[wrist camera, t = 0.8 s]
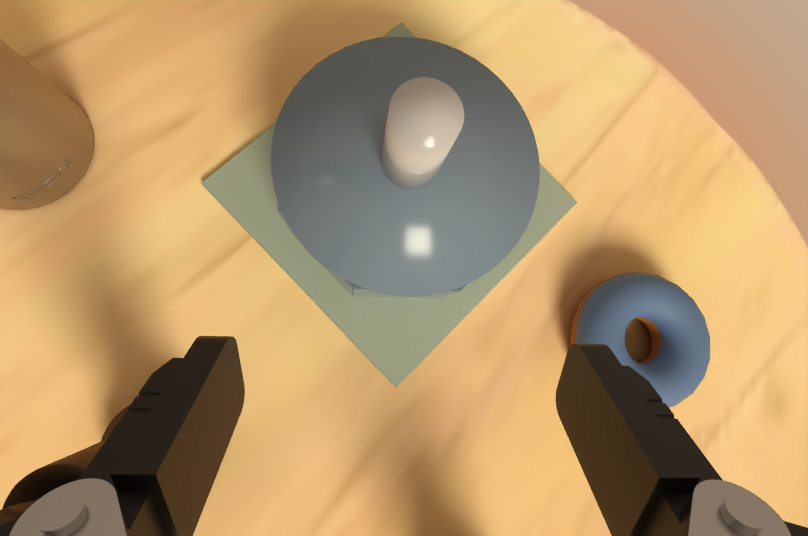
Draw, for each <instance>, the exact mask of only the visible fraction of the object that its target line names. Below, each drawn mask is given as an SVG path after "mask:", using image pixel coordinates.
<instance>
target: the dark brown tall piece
mask: <svg viewBox="0 0 808 536" xmlns="http://www.w3.org/2000/svg"><path fill="white" fill-rule="evenodd" d="M129 406H130V405H129ZM129 406H128V407H126V408H125V409H123V410H122V411H121V412H120V413H119V414H118V415H117V416H116V417H115V418H114V419H113V420H112V421H111V423H110V424H109V426H108V427H107V429H106V431H105V433H104V435H103V437H102V440H101V442H99V443H97V444H95V445H92V446H90V447H88V448H86V449H84V450H81V451H79V452H77V453H74V454H72V455H70V456H67V457H65V458H63V459H60V460H58V461H55V462H53V463H51V464H48V465H46V466H44V467H42V468H39V469H37V470H35V471H33V472H32V473H30V474H28V475H27V476H26V477H24V478H23V479H22V480H21V481H19V482H18V483H17V484H16V485H15V487H14V488H13V489H12V491H11V492H10V494H9V495H8V497H7V499H6V501H5V503H4V506H3V509H2V510H0V524H4V523H8V522H11V521H14V520H17V519H19V518H20V517H21V515H22V514H23V513H24V512H25V511H26V510H27V509H28V508H29V507H30V506H31V505H32V504H33V503H35V502H36V501H37V500H39V499H40V498H41V497H43V496H44V495H46V494H47V493H49V492H50V491H52V490H54V489H56V488H58V487H60V486H62V485H65V484H67V483H70V482H73V481H76V480H78V479H79V478H80V476H81V475H82V474H83V472H84V471H85V469H86V468H87V467H88V465H89V464H90V462H91V461H92V459H93V458H94V457H95V455H96V454H97V452H98V451H99V449H100V448H101V447H102V445H103V444H104V442H105V441H106V439H107V438H108V437H109V435H110V434H111V432H112V431H113V429H114V428H115V427H116V425H117V424H118V422H119V421H120V419H121V418H122V416H123V415H124V414H125V413H127V412H128V408H129Z"/></svg>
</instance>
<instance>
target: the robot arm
mask: <svg viewBox="0 0 808 536" xmlns="http://www.w3.org/2000/svg"><path fill="white" fill-rule="evenodd" d="M93 149H94V138H93V131H92V128H91V124H90V121H89V119H88V118H87V116H86V114H85V113H84V111H83V109H82V108H81V107H80V106H79V105H78V104H77V103H76V102H75V101H74V100H73V99H72V98H70V97H69V96H68V95H67V94H66V93H64V92H63V91H62V90H61V89H60V88H58V87H57V86H56V85H55V84H54V83H52V82H51V81H50V80H49V79H48V78H46V77H45V76H44V75H43V74H41V73H40V72H39V71H38V70H37V69H36V68H35V67H33V66H32V65H31V64H30V63H29V62H27V61H26V60H25V59H24V58H23V57H21V56H20V55H19V54H18V53H17V52H15V51H14V50H13V49H12V48H10V47H9V46H8V45H7V44H6V43H4V42H3V41H2V40H1V39H0V208H1V209H6V210H25V209H31V208H36V207H40V206H43V205H45V204H48V203H51V202H53V201H55V200H57V199H58V198H60V197H62V196H63V195H65V194H67V193H68V192H69V191H70V190H71V189H72V188H73V187H74V186H75V185H76V184H78V182H79V181H80V180H81V178H82V177H83V175H84V174H85V173H86V171H87V169H88V166H89V164H90V162H91V159H92V154H93ZM244 394H245V388H244V381H243V375H242V370H241V364H240V359H239V353H238V348H237V343H236V340H235V338H234V337H228V336H199V337H198V338H196V340H195V341H194V343H193V344H192V346H191V347H190V349H189V350H188V352H187V354H186V355H185V357H184V358H172V359H171V360H170V361H168V362H167V363H166V364H164V365H163V366H162V367H161V368H159V369H158V370H157V371H155V372H154V373H153V374H152V375H151V376H150V378H149V379H148V381H147V382H146V384H145V385H144V386H143V388H142V389H141V391H140V392H139V396H136V398H135V399H134V401H133V402H132V404H131V405H130V406H129V408H128V412H127V413H125V414H124V415H123V416H122V418H121V419H120V421H119V422H118V424H117V425H116V427H115V428H114V429H113V431H112V432H111V434H110V435H109V437H108V438H107V439H106V441H105V442H104V444H103V445H102V447H101V448H100V449H99V451H98V452H97V454H96V455H95V457H94V458H93V459H92V461H91V462H90V464H89V465H88V467H87V468H86V469H85V471H84V472H83V474H82V475H81V476H80V478H79V479H78V480H76V481H73V482H70V483H67V484H65V485H62V486H60V487H58V488H56V489H54V490H52V491H50V492H49V493H47V494H46V495H44V496H43V497H41V498H40V499H39V500H37V501H36V502H35V503H33V504H32V505H31V506H30V507H29V508H28V509H27V510H26V511H25V512H24V513H23V514H22V515H21V517H20V518H19V519H17V520H14V521H11V522H8V523H4V524H0V536H193V534H194V531H195V528H196V526H197V523H198V521H199V518H200V516H201V513H202V511H203V508H204V506H205V503H206V500H207V498H208V495H209V493H210V490H211V488H212V485H213V483H214V480H215V478H216V475H217V472H218V470H219V467H220V465H221V462H222V460H223V457H224V455H225V452H226V450H227V447H228V444H229V442H230V439H231V437H232V434H233V432H234V429H235V427H236V424H237V422H238V419H239V417H240V414H241V411H242V408H243V403H244ZM662 400H663V399H662V398H661V397H660V395H659V394H658V393H657V391H656V390H655V389H654V387H653V386H652V385H651V383H650V382H649V381H648V380H647V379H645V378H644V377H643V376H641V375H640V374H639V373H638V372H636V371H635V370H634V369H632V368H631V367H630V366H622V365H621V363H620V362H619V360H618V359H617V357H616V356H615V355H614V353H613V352H612V350H611V349H610V348H609V347H608V346H607V345H606V344H582V343H574V344H572V345H571V346H570V347H569V349H568V352H567V356H566V359H565V363H564V366H563V369H562V373H561V376H560V380H559V383H558V387H557V391H556V406H557V411H558V415H559V417H560V420H561V422H562V424H563V426H564V429H565V431H566V433H567V436H568V438H569V440H570V442H571V445H572V447H573V449H574V451H575V454H576V456H577V458H578V460H579V463H580V465H581V467H582V469H583V472H584V474H585V476H586V478H587V481H588V483H589V485H590V488H591V490H592V492H593V494H594V497H595V499H596V501H597V503H598V506H599V508H600V510H601V512H602V515H603V517H604V519H605V521H606V524H607V526H608V528H609V531H610V533H611V535H612V536H808V528H806V527H803V526H799V525H796V524H792V523H789V522H785V521H783V520H782V519H781V518H780V516H779V515H778V514H777V513H776V512H775V511H774V510H773V509H772V508H771V507H770V506H769V505H768V504H767V503H766V502H765V501H763V500H762V499H761V498H759V497H758V496H756V495H755V494H753V493H752V492H750V491H748V490H746V489H745V488H743V487H741V486H738V485H736V484H733V483H730V482H727V481H723V480H722V479H721V477H720V476H719V475H718V473H717V472H716V471H715V469H714V468H713V467H712V465H711V464H710V463H709V461H708V460H707V459H706V457H705V456H704V454H703V453H702V452H701V450H700V449H699V448H698V446H697V445H696V444H695V442H694V441H693V440H692V438H691V437H690V436H689V434H688V433H687V432H686V430H685V429H684V428H683V426H682V425H681V424H680V422H679V421H678V420H677V419H674V414H673V413H672V412H671V410H670V409H669V408H668V406H667V405H666V404H665V403H663V402H662Z"/></svg>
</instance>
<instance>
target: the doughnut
mask: <svg viewBox="0 0 808 536" xmlns="http://www.w3.org/2000/svg"><path fill="white" fill-rule="evenodd" d="M634 319H638V320H640V321H642V322H643V323H644V324H645V325H646V327H647V328H648V330H649V332H650V335H651V339H652V347H651V351H650V354H649V356H648V357H647V359H646V360H645V361H643V362H642V363H638V362H636V361H635V360H633V359H632V358H631V357H630V355H629V353H628V352H627V349H626V345H625V332H626V329H627V326H628V324H629V323H630V322H631V321H632V320H634ZM574 343H582V344H606V345H607V346H608V347H609V348H610V349H611V350H612V352H613V353H614V355H615V356H616V357H617V359H618V360H619V362H620V363H621V365H622V366H630V367H631V368H632V369H634V370H635V371H636V372H638V373H639V374H640V375H641V376H643V377H644V378H645V379H647V380H648V381H649V382H650V383H651V385H652V386H653V387H654V389H655V390H656V391H657V393H658V394H659V395H660V397H661V398H662V399H663V400H662V402H663V403H665V404H666V405H667V406H668V408H669V407H673V406H675V405H677V404H678V403H680V402H681V401H683V400H684V399H685V398H687V397H688V396H690V395H691V394H693V393H694V391H695V390H696V388H697V387H698V385H699V384H700V383H701V381H702V380H703V378H704V376H705V373H706V370H707V366H708V363H709V360H710V336H709V332H708V329H707V325H706V322H705V318H704V316H703V314H702V313H701V311H700V310H699V308H698V306H697V305H696V303H695V301H694V300H693V299H692V298H691V297H690V296H689V295H688V294H687V293H686V292H685V291H683V290H682V289H681V288H680V287H679V286H678V285H676V284H674V283H672V282H670V281H668V280H666V279H664V278H662V277H660V276H657V275H650V274H643V273H629V274H624V275H619V276H615V277H613V278H610V279H608V280H606V281H604V282H603V283H601V284H599V285H598V286H596V287H594V288H593V289H591V290H590V291H589V292H588V294H587V295H586V296H585V297H584V299H583V300H582V301H581V302H580V304H579V305H578V308H577V310H576V313H575V316H574V318H573V321H572V324H571V343H570V344H571V345H572V344H574Z"/></svg>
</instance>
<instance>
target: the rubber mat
mask: <svg viewBox="0 0 808 536" xmlns="http://www.w3.org/2000/svg"><path fill="white" fill-rule="evenodd" d="M385 37H413V38H416V37H415V36H414V35H413V34H412V33H411V32H410V31H409V30H408V29H407V28H406V27H405V26H404V25H403V24H402V23H400V24H399V25H398V26H397V27H395V28H394V29H393V30H392V31H390V32H389V33H388V34H387V35H385V36H384V37H383V38H385ZM275 127H276V124H274V125H273V126H272V127H271V128H269V129H268V130H267V131H266V132H264V133H263V134H262V135H261V136H259V137H258V138H257V139H256V140H254V141H253V142H252V143H251V144H249V145H248V146H247V147H246V148H245V149H243V150H242V151H241V152H240V153H238V154H237V155H236V156H235V157H233V158H232V159H231V160H230V161H228V162H227V163H226V164H225V165H223V166H222V167H221V168H220V169H218V170H217V171H216V172H215V173H213V174H212V175H211V176H210V177H208V178H207V179H206V180H205V181H203V182H202V183H201V184H202V185H203V186H204V187H205V188H206V189H207V190H208V191H209V192H210V193H211V194H212V195H213V196H214V197H215V198H216V199H217V200H218V202H219V203H220V204H221V205H222V206H223V207H224V208H225V209H226V210H227V211H228V212H229V213H230V214H231V215H232V216H233V217H234V218H235V219H236V220H237V221H238V222H239V224H240V225H241V226H242V227H243V228H244V229H245V230H246V231H247V232H248V233H249V234H250V235H251V236H252V237H253V238H254V239H255V240H256V241H257V242H258V243H259V245H260V246H261V247H262V248H263V249H264V250H265V251H266V252H267V253H268V254H269V255H270V256H271V257H272V258H273V259H274V260H275V261H276V262H277V263H278V264H279V265H280V267H281V268H282V269H283V270H284V271H285V272H286V273H287V274H288V275H289V276H290V277H291V278H292V279H293V280H294V281H295V282H296V283H297V284H298V285H299V286H300V287H301V289H302V290H303V291H304V292H305V293H306V294H307V295H308V296H309V297H310V298H311V299H312V300H313V301H314V302H315V303H316V304H317V305H318V306H319V307H320V308H321V310H322V311H323V312H324V313H325V314H326V315H327V316H328V317H329V318H330V319H331V320H332V321H333V322H334V323H335V324H336V325H337V326H338V327H339V328H340V329H341V330H342V332H343V333H344V334H345V335H346V336H347V337H348V338H349V339H350V340H351V341H352V342H353V343H354V344H355V345H356V346H357V347H358V348H359V349H360V350H361V351H362V352H363V354H364V355H365V356H366V357H367V358H368V359H369V360H370V361H371V362H372V363H373V364H374V365H375V366H376V367H377V368H378V369H379V370H380V371H381V372H382V373H383V375H384V376H385V377H386V378H387V379H388V380H389V381H390V382H391V383H392V384H393V385H394V386H395V387H397V386H398V385H399V384H400V383H401V382H402V381H403V380H404V379H405V378H406V377H407V376H408V375H409V374H410V373H411V372H412V371H413V370H414V369H415V368H416V367H417V366H418V365H419V364H420V363H421V362H422V361H423V360H424V359H425V358H426V357H427V356H428V354H429V353H430V352H431V351H432V350H433V349H434V348H435V347H436V346H437V345H438V344H439V343H440V342H441V341H442V340H443V339H444V338H445V337H446V336H447V335H448V334H449V333H450V332H451V331H452V330H453V329H454V328H455V327H456V326H457V325H458V324H459V323H460V322H461V321H462V320H463V319H464V318H465V317H466V316H467V315H468V314H469V313H470V312H471V311H472V309H473V308H474V307H475V306H476V305H477V304H478V303H479V302H480V301H481V300H482V299H483V298H484V297H485V296H486V295H487V294H488V293H489V292H490V291H491V290H492V289H493V288H494V287H495V286H496V285H497V284H498V283H499V282H500V281H501V280H502V279H503V278H504V277H505V276H506V275H507V274H508V273H509V272H510V271H511V270H512V269H513V268H514V267H515V265H516V264H517V263H518V262H519V261H520V260H521V259H522V258H523V257H524V256H525V255H526V254H527V253H528V252H529V251H530V250H531V249H532V248H533V247H534V246H535V245H536V244H537V243H538V242H539V241H540V240H541V239H542V238H543V237H544V236H545V235H546V234H547V233H548V232H549V231H550V230H551V229H552V228H553V227H554V226H555V225H556V224H557V223H558V221H559V220H560V219H561V218H562V217H563V216H564V215H565V214H566V213H567V212H568V211H569V210H570V209H571V208H572V207H573V206H574V205H575V204H576V203H577V202H576V201H575V200H574V199H573V198H572V197H571V196H570V195H569V194H568V193H567V192H566V191H565V190H564V189H563V188H562V187H561V186H560V184H559V183H558V182H557V181H556V180H555V179H554V178H553V177H552V176H551V175H550V174H549V173H548V172H547V171H546V170H545V169H544V168H543V167H542V166H541V165H540V164H539V166H540V177H539V189H538V196H537V201H536V205H535V208H534V211H533V214H532V217H531V219H530V222H529V224H528V226H527V228H526V230H525V232H524V234H523V235H522V237H521V238H520V240H519V241H518V243H517V244H516V246H515V247H514V248H513V249H512V251H511V252H510V253H509V254H508V255H507V256H506V258H505V259H503V260H502V261H501V262H500V263H499V264H498V265H497V266H495V267H494V268H493V269H492V270H491V271H489V272H488V273H486V274H484V275H483V276H481V277H480V278H478V279H477V280H475V281H472V282H470V283H468V284H467V285H466V286H465V287H464V288H463V289H462V290H461V291H460V292H457V293H454V294H451V295H449V296H446V297H443V298H404V297H359V296H352V295H351V294H350V293H349V292H348V291H347V290H346V289H345V288H344V287H343V286H342V285H341V284H340V283H339V282H338V281H337V280H336V279H335V278H334V277H333V276H332V274H331V273H330V272H329V271H328V270H327V269H326V268H325V267H323V266H322V265H321V264H320V263H319V262H318V261H317V260H316V259H315V258H314V257H312V256H311V255H310V254H309V253H308V251H307V250H306V249H305V248H304V247H303V245H302V244H301V243H300V242H299V241H298V239H297V238H296V237H295V236H294V235H293V234H292V233H291V232H290V230H289V228H288V227H287V225H286V223H285V222H284V220H283V219H282V217H281V215H280V214H279V212H278V210H277V204H278V200H277V197H276V193H275V190H274V186H273V179H272V173H271V148H272V140H273V134H274V130H275Z"/></svg>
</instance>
